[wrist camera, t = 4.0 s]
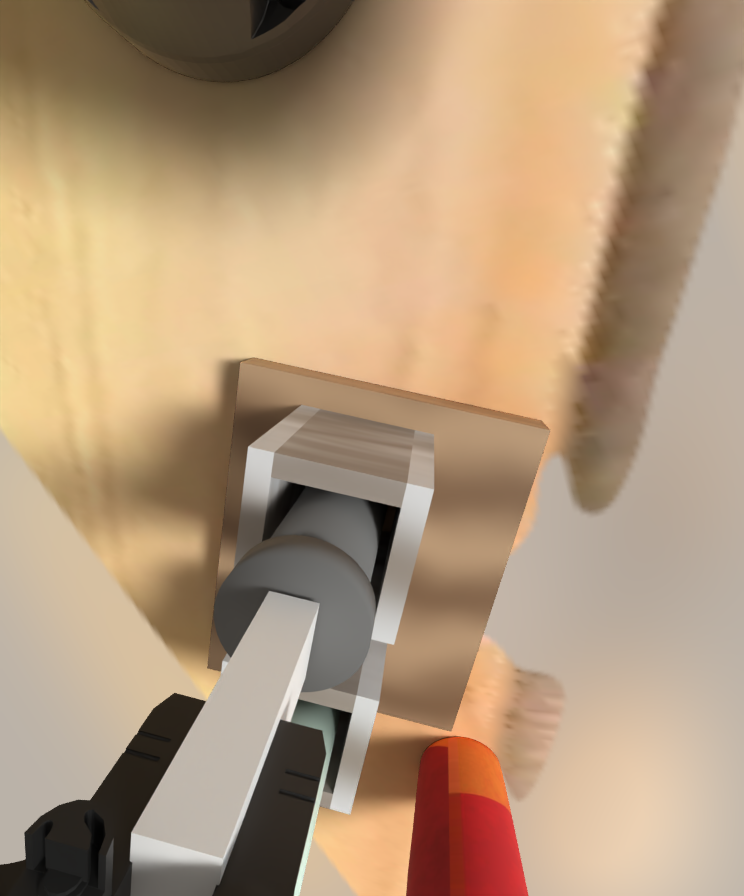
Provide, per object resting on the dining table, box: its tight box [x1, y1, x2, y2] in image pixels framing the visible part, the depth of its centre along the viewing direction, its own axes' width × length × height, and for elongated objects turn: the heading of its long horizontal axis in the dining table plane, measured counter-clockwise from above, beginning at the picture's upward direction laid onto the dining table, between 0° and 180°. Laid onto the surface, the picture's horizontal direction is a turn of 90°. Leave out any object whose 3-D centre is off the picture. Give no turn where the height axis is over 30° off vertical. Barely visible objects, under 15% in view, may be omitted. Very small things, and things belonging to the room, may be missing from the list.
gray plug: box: [214, 486, 388, 692], centre depth 19 cm, size 5×5×11 cm
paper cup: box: [406, 737, 528, 896], centre depth 26 cm, size 8×8×14 cm
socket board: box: [207, 358, 550, 814], centre depth 24 cm, size 20×16×10 cm
